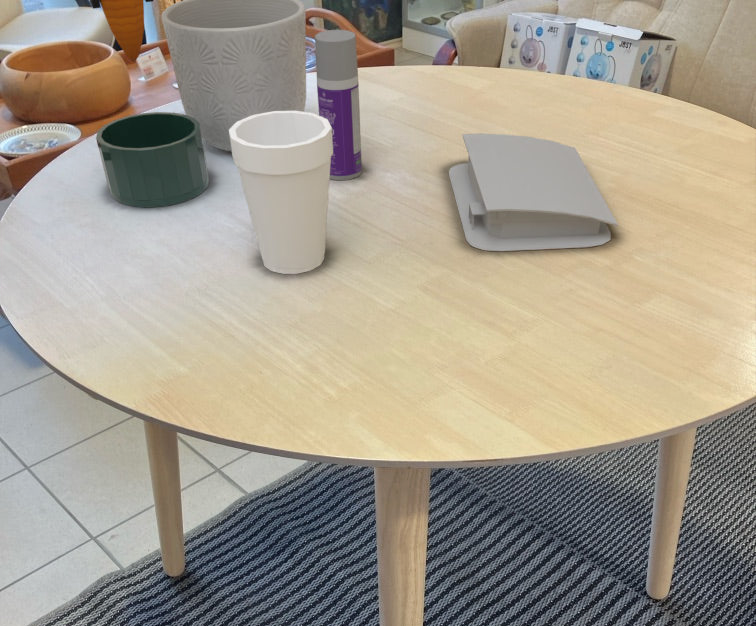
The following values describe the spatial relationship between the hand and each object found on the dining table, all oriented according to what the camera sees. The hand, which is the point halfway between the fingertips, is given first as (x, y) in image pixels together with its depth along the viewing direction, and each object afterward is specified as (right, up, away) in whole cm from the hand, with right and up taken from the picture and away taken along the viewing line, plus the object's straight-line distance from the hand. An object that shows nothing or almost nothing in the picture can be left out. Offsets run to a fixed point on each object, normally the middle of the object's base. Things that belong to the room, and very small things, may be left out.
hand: (121, 1), depth 88 cm
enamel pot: (0, -14, +14) cm, 20 cm away
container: (+22, -12, +16) cm, 29 cm away
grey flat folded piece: (+43, -18, +8) cm, 47 cm away
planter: (+10, -4, +24) cm, 26 cm away
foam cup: (+18, -27, 0) cm, 32 cm away
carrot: (0, -4, +4) cm, 6 cm away
